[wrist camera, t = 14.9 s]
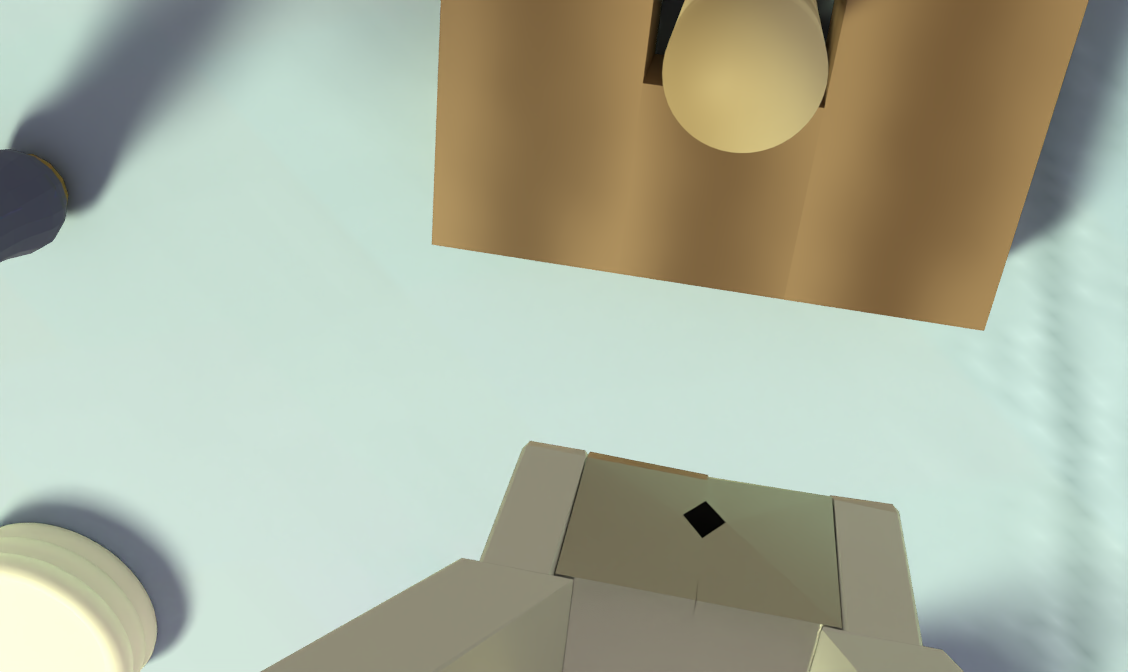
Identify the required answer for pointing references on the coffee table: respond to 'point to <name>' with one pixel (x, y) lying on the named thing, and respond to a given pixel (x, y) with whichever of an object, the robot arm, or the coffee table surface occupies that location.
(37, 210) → the rubber mallet
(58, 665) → the cream round disc
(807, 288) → the walnut board
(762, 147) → the maple dowel
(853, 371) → the coffee table surface
